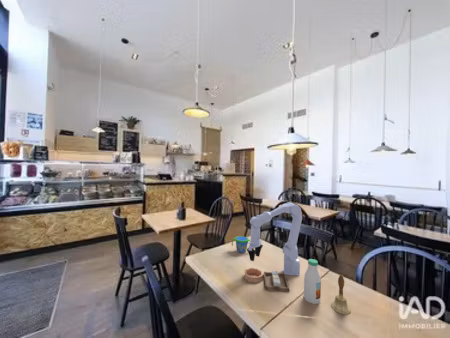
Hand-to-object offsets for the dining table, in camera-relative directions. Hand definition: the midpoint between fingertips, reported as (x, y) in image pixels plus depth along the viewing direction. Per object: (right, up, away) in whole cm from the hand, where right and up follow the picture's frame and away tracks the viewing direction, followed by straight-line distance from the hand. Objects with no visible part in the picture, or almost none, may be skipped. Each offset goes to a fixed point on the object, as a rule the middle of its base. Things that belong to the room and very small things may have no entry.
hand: (254, 258), depth 125 cm
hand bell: (+37, -11, -29) cm, 48 cm away
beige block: (+11, -10, -10) cm, 17 cm away
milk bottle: (+25, -11, -23) cm, 36 cm away
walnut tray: (+11, -10, -9) cm, 17 cm away
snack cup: (-6, -10, +34) cm, 35 cm away
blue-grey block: (+11, -10, -5) cm, 16 cm away
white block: (+10, -10, -14) cm, 20 cm away
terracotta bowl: (-2, -10, -5) cm, 11 cm away
